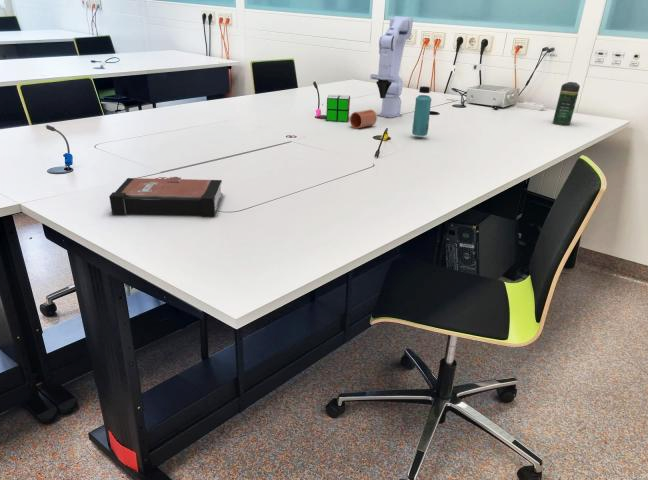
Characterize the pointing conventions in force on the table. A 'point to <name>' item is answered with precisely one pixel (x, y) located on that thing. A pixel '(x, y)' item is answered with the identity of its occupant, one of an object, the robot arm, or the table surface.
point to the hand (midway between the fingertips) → (382, 98)
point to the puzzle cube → (338, 108)
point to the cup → (363, 119)
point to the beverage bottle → (422, 113)
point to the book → (167, 197)
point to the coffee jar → (566, 103)
